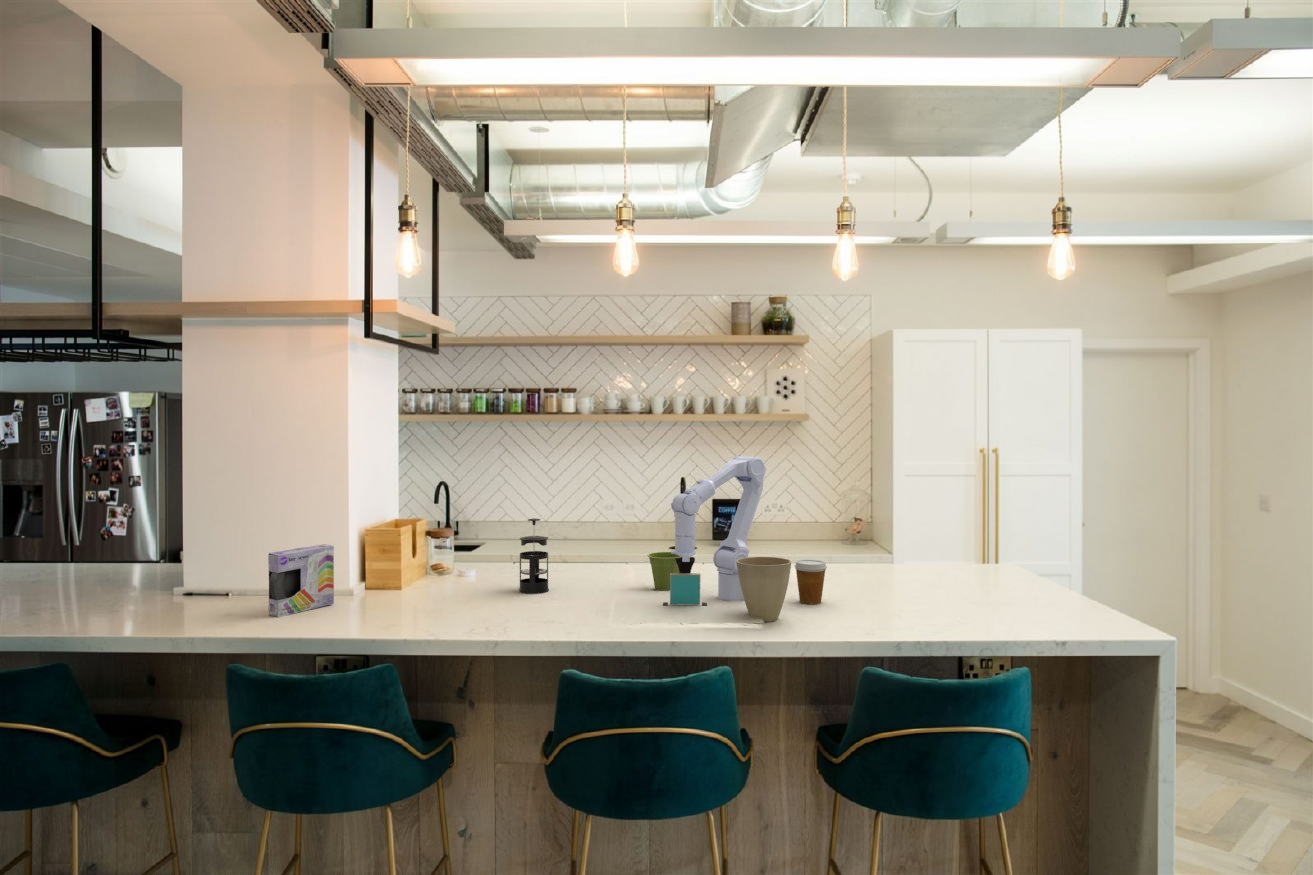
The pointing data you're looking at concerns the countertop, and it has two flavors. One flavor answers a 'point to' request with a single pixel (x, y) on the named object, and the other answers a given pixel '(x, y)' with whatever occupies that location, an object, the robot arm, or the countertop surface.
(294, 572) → the cake pan box
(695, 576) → the tile
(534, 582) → the french press
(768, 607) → the plant pot
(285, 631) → the countertop surface
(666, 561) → the plant pot
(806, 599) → the disposable coffee cup
